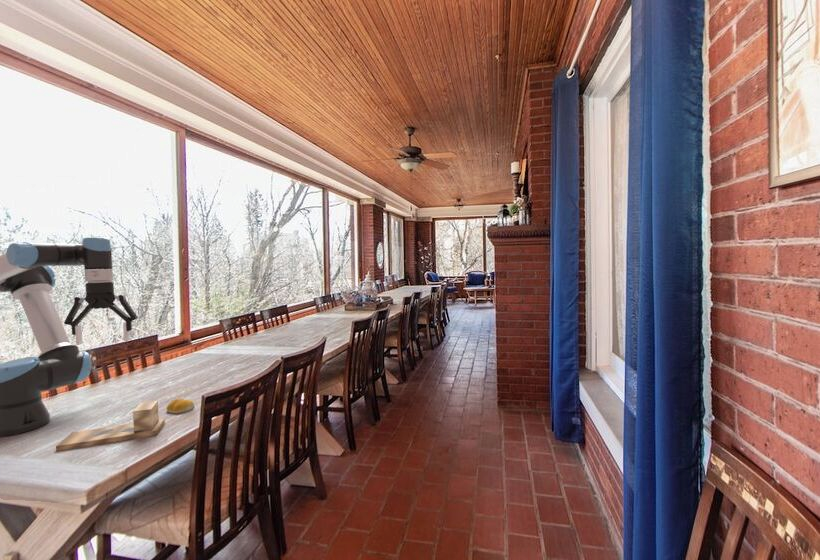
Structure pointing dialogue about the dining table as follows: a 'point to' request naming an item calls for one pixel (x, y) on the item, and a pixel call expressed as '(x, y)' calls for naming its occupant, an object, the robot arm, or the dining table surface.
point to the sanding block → (145, 416)
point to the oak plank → (105, 435)
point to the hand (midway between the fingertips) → (103, 342)
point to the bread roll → (180, 406)
